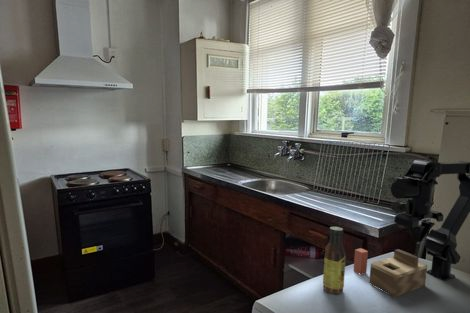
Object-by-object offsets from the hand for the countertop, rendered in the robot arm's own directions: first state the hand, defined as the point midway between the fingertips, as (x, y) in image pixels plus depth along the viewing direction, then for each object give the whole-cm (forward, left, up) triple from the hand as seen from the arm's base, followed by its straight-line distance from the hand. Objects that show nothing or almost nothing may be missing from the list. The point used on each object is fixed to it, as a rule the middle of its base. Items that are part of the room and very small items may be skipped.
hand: (416, 242), depth 103 cm
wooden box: (+9, 0, -13) cm, 16 cm away
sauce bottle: (+31, -7, -13) cm, 34 cm away
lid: (+9, 0, -7) cm, 11 cm away
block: (+13, -11, -13) cm, 22 cm away
